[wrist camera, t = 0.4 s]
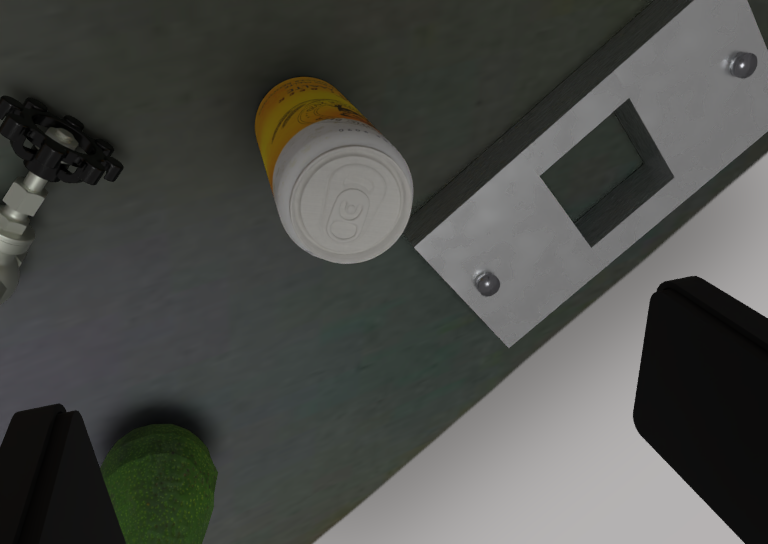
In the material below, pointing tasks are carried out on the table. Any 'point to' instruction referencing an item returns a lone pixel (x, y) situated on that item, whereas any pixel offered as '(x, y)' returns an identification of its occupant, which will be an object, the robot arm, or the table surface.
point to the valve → (42, 174)
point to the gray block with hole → (571, 124)
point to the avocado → (161, 485)
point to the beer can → (331, 172)
